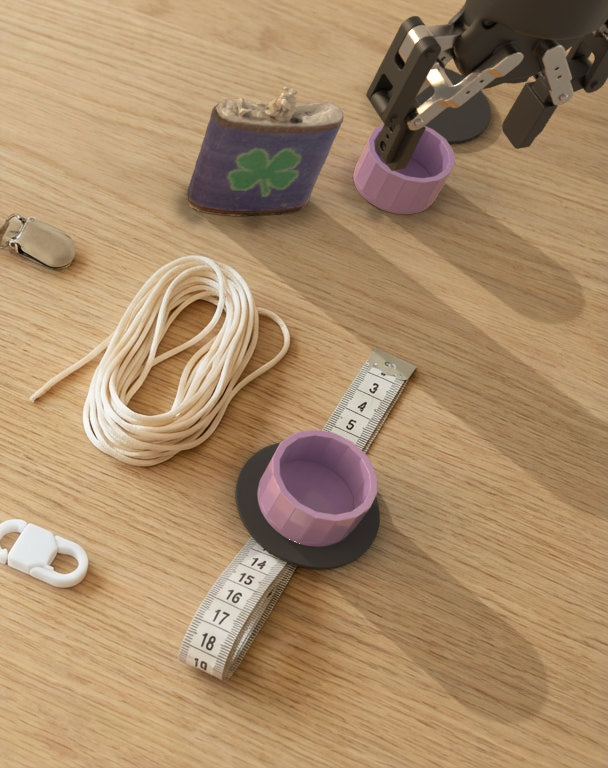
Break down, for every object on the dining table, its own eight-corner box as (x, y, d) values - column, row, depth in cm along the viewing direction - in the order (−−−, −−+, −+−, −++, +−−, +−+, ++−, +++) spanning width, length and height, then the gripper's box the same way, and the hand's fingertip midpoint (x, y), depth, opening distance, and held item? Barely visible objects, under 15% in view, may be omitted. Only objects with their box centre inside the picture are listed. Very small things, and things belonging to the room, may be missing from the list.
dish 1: (332, 450, 79) (350, 422, 76) (374, 536, 75) (395, 509, 72) (242, 468, 78) (256, 439, 75) (280, 555, 74) (297, 529, 71)
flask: (303, 188, 92) (350, 80, 83) (311, 217, 91) (359, 110, 82) (182, 186, 92) (216, 77, 83) (187, 216, 90) (223, 108, 81)
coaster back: (456, 60, 101) (458, 57, 101) (509, 135, 96) (511, 133, 96) (357, 73, 100) (359, 70, 100) (406, 151, 95) (408, 148, 95)
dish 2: (413, 148, 95) (430, 115, 92) (450, 207, 92) (470, 175, 89) (339, 160, 94) (354, 126, 91) (374, 220, 91) (391, 187, 88)
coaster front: (341, 432, 80) (343, 430, 80) (402, 554, 75) (404, 551, 75) (214, 457, 78) (215, 454, 78) (267, 582, 74) (269, 580, 73)
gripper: (488, -12, 59) (375, 213, 72) (741, -51, 61) (586, 174, 75) (416, -104, 63) (321, 125, 76) (656, -138, 65) (524, 91, 79)
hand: (452, 149), depth 76 cm, fingers open, 8 cm apart
